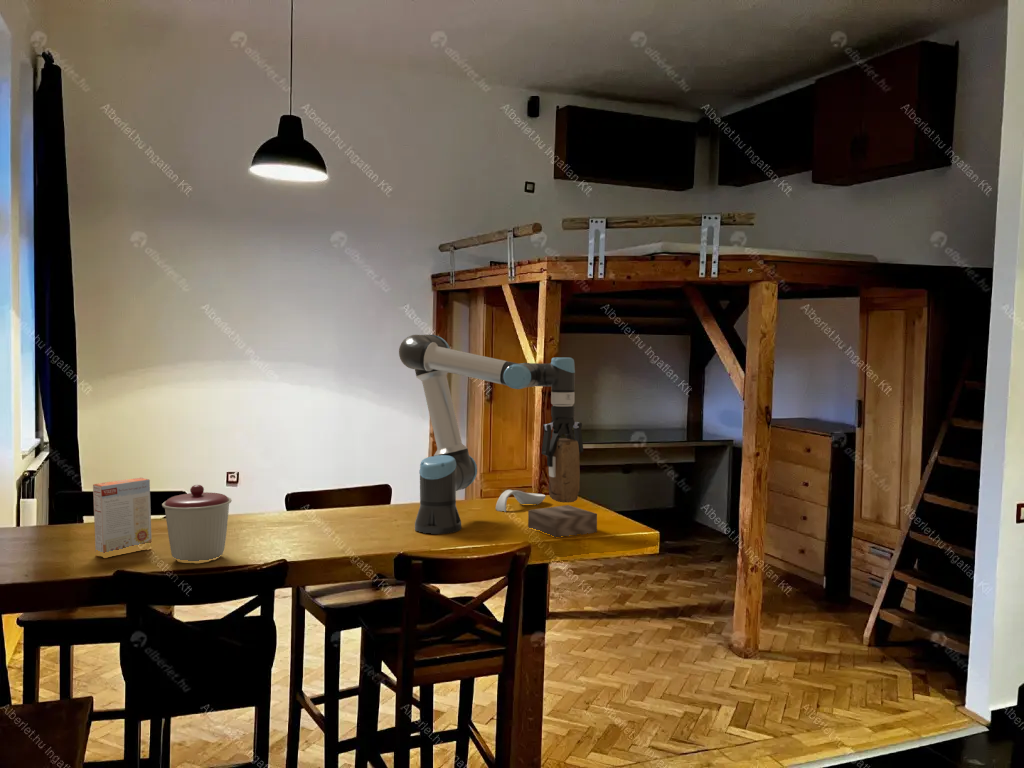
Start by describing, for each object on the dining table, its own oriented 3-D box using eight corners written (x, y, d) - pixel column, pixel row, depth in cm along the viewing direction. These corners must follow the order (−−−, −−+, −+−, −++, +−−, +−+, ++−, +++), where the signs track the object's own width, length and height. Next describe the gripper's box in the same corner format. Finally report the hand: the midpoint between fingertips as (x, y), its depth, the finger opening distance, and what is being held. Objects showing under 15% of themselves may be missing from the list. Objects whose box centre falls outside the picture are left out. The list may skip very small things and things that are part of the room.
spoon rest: (526, 500, 315) (526, 482, 314) (551, 504, 307) (551, 485, 307) (488, 510, 296) (488, 490, 295) (513, 514, 289) (513, 494, 288)
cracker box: (142, 546, 241) (141, 476, 240) (152, 549, 237) (151, 478, 236) (94, 555, 230) (92, 483, 229) (103, 559, 226) (101, 485, 225)
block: (581, 502, 259) (581, 440, 258) (561, 504, 256) (561, 441, 255) (564, 496, 269) (564, 436, 268) (544, 498, 266) (544, 437, 265)
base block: (555, 538, 252) (556, 519, 252) (528, 528, 266) (528, 510, 265) (596, 532, 260) (597, 513, 260) (568, 522, 274) (568, 505, 274)
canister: (226, 548, 239) (225, 477, 238) (237, 563, 223) (236, 487, 222) (160, 556, 230) (158, 482, 229) (166, 572, 214) (164, 493, 213)
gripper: (543, 407, 253) (542, 479, 254) (595, 404, 263) (594, 474, 264) (530, 405, 259) (529, 476, 260) (581, 403, 270) (581, 471, 271)
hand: (562, 475), depth 262 cm, fingers closed on block, 7 cm apart
